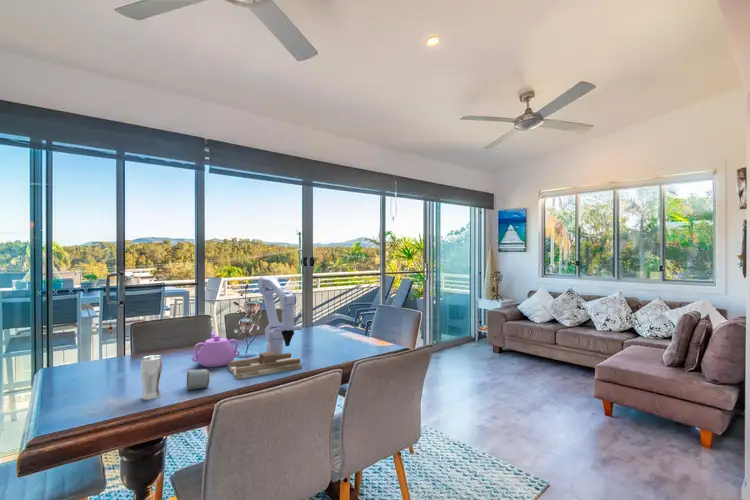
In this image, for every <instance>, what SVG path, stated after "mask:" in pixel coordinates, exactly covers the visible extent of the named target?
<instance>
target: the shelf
mask: <svg viewBox="0 0 750 500" xmlns="http://www.w3.org/2000/svg"><path fill="white" fill-rule="evenodd" d="M302 368H303V365H302V363H301V358H293V357H292V353H291V352H287V353H283V354H278V355H276V362H271V363H265V364H259V356H257V357H252V358H244V359H238V360H237V359H236V360H233V361H229V364H227V369H228V370H229V371H230V372H231V374H232V375H233V376H234V377H235V378H236V379H237V380H241V379H247V378H253V377H258V376H264V375H270V374H276V373H281V372H288V371H294V370H295V371H296V370H300V369H302Z"/></svg>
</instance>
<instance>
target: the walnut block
mask: <svg viewBox="0 0 750 500" xmlns="http://www.w3.org/2000/svg"><path fill="white" fill-rule="evenodd" d="M258 357H259V364H265V363H271V362H276V354H275V353H273V352H267V351H266V352H259V356H258Z"/></svg>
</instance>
